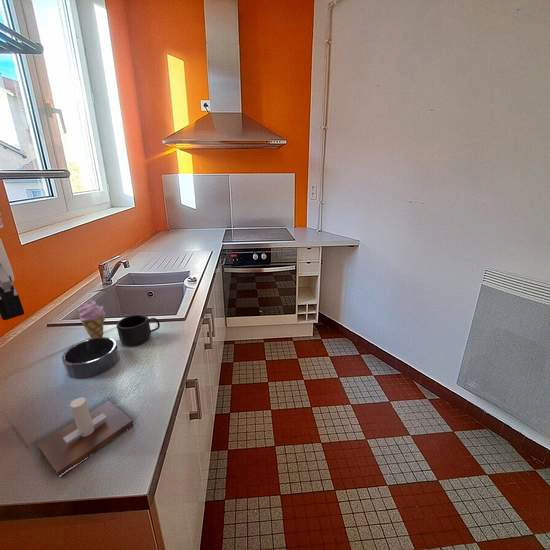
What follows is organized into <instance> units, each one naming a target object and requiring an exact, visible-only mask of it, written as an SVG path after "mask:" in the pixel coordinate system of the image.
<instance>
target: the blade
mask: <svg viewBox="0 0 550 550" xmlns="http://www.w3.org/2000/svg"><path fill="white" fill-rule="evenodd" d="M69 407H70V410H71V413H72V417H73V419H74V422H76V425H77V428H78V429H77V430H75V431H73V432H72V433H70V434H69V435H67V436H65V437H64V438H63V440H64V441H65V442H66V443H67V444H68V443H70V442H71V441H73V440H74V439H76V438H77V437H79V436H81V437H86V436H88V435H90V434H91V433H92V432H93V431H94V426H96V425H97V424H99V423H101V422H102V421H104V420H105V419H107V416H105V415H104V414H103V413H102V414H100V415H99V416H97V417H96V418H94V419H93V420H92V419H91V415H90V412H91V411H90V409H89V406H88V402H87V400H86V398H85V397H77V398H76V399H73V400H72V401H71V402H70V404H69Z"/></svg>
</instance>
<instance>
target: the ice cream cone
mask: <svg viewBox="0 0 550 550" xmlns="http://www.w3.org/2000/svg"><path fill="white" fill-rule="evenodd" d="M81 306H82V307H81V308H79V309H78V310H77V313H78V314H79V319H80V322H81V324H82V326H83V328H84V329H85V331H86V332H87V335H89V337H90V339H93V338H99V337H104V322H105V320H106V318H105V317H106V315H107V314H106V311H105V310H104V305H101V306H100V305H98V304H97V301H95V300H94V299H86V300H85V303H82V304H81Z"/></svg>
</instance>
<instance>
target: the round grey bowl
mask: <svg viewBox="0 0 550 550" xmlns="http://www.w3.org/2000/svg"><path fill="white" fill-rule="evenodd" d="M119 360H120V353H119V349H118V344H117V342H116V340H115V339H113V338H112V337H106V336H105V337H104V336H103V337H99V338H93V339H92V338H90V339H85V340H83V341H81V342H78V343H76V344H73V345H72V346H70V347H69V348H68V349H67V350H66V351H65V352H64V353H63V355H62V356H61V361H62V364H63V367H64V370H65V373H66V375H67V377H69V378H71V379H76V380H85V379H90V378H93V377H98V376H100V375H102V374H104V373H106V372H107V371H110V370H111V369H112V368H114V367H115V366H116V364H118V362H119Z"/></svg>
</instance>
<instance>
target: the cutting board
mask: <svg viewBox="0 0 550 550" xmlns="http://www.w3.org/2000/svg"><path fill="white" fill-rule="evenodd" d="M89 412H90V415H91V419H92V420H93V419H94V418H96V417H97V416H99V415H100V414H102V413H103V414H104V415H105V416H107V419H105V420H104V421H102V422H101V423H99V424H97V425H96V426H94V431H93V432H92V433H91V434H90V435H88V436H86V437H81V436H79V437H77V438H76V439H74V440H73V441H71V442H70V443H68V444H67V443H66V442H65V441H64V440H63V438H64V437H65V436H67V435H69V434H70V433H72V432H73V431H75V430H77V429H78V428H77V425H76V422H75V421H72V422H71V423H69V424H67V426H65V427H63V428H61V429H59V430H57V431H56V432H54V433H53V434H51V435H50V436H48V437H46V438H45V439H43V440H42V441H40V442H38V443H37V444H36V446H37V448H38V450H39V452H40V451H41V452H42V453H41V452H40V453H41V455H42V456H43V455H44V456H45V457H44V456H43V457H44V459H45V460H46V459H47V460H48V461H47V460H46V461H47V463H48V462H49V463H50V464H51V465H50V464H49V463H48V464H49V465H50V467H51V466H52V467H53V468H52V467H51V468H52V470H53V469H54V470H55V471H56V472H55V471H54V470H53V471H54V472H55V474H56V473H57V474H58V475H61V474H62V473H64V472H65V471H66V470H68V469H69V468H71V467H73V466H74V465H76V464H78V463H80V462H81V461H82V460H84V459H85V458H87V457H89V456H90V455H91V454H93V453H95V452H96V451H97V452H99V451H100V450H102V449H103V448H104V447H106V446H107V445H109V444H110V443H111V442H113V441H114V440H115V438H116V437H117V436H118V437H120V436H121V435H123V434H124V433H125V432H127V431H128V430H130V429H131V428H132V427H134V426H135V424H134V420H133V419H132V418H130V417H129V416H128V415H127V414H126V413H125V412H123V411H122V410H121V409H120V408H118V406H117V405H115V404H114V403H113V402H112V401H110V400H108V401H106V402H104V403H102V404H100V405H99V406H97V407H96V408H94V409H93V410H91V411H89ZM133 425H134V426H133ZM130 427H131V428H130ZM129 428H130V429H129ZM127 429H128V430H127ZM126 430H127V431H126ZM124 431H125V432H124ZM123 432H124V433H123ZM122 433H123V434H122ZM120 434H121V435H120ZM119 435H120V436H119ZM118 437H117V438H118ZM117 438H116V439H117ZM113 439H114V440H113ZM112 440H113V441H112ZM109 442H110V443H109ZM108 443H109V444H108ZM106 444H107V445H106ZM105 445H106V446H105ZM102 447H103V448H102ZM101 448H102V449H101ZM99 449H100V450H99ZM98 450H99V451H98ZM97 452H96V453H97ZM96 453H95V454H96ZM93 455H94V454H93ZM90 457H91V456H90ZM90 457H89V458H90ZM57 474H56V475H57ZM58 475H57V476H58Z"/></svg>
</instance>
